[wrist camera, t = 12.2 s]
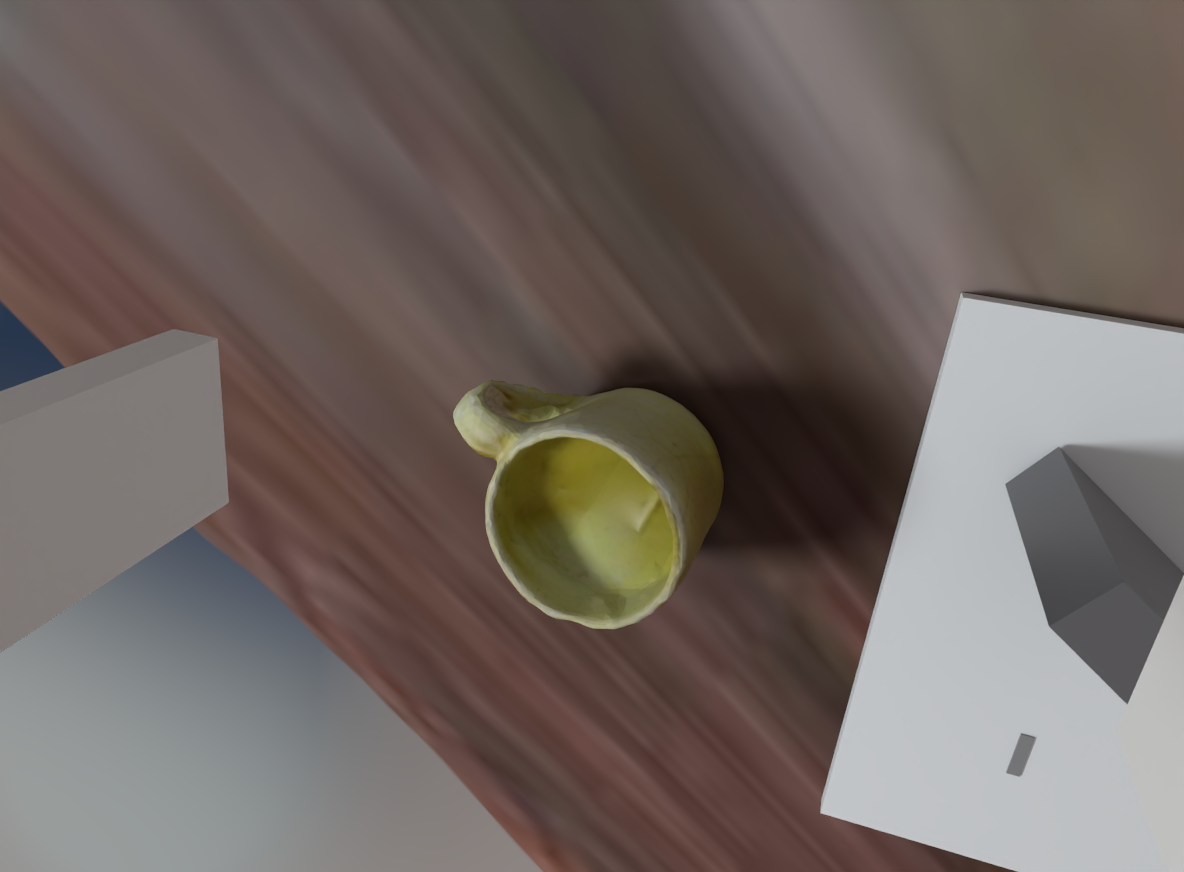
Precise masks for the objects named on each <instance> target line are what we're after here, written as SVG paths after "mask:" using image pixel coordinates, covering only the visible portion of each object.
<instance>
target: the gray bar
mask: <svg viewBox="0 0 1184 872" xmlns="http://www.w3.org/2000/svg"><path fill="white" fill-rule="evenodd" d="M1005 485H1006V489H1007V492H1008V495H1009V498H1010V502H1011V505H1012V508H1013V511H1014V515H1015V518H1016V521H1017V524H1018V528H1019V531H1020V534H1021V537H1022V541H1023V544H1024V547H1025V550H1026V554H1027V557H1028V560H1029V563H1030V567H1031V570H1032V573H1033V576H1034V579H1035V583H1036V586H1037V589H1038V592H1039V596H1040V599H1041V602H1042V605H1043V609H1044V612H1045V615H1046V618H1047V622H1048V625H1049V627H1050V628H1051V629H1052V630H1053V631H1054V632H1055V633H1056V634H1057V635H1058V636H1059V637H1060V638H1061V639H1062V640H1063V641H1064V642H1065V643H1066V644H1067V645H1068V646H1069V647H1070V648H1071V649H1072V650H1073V651H1074V652H1075V653H1076V654H1077V655H1078V656H1079V657H1080V658H1081V659H1082V660H1083V661H1084V662H1085V663H1086V664H1087V665H1088V666H1089V667H1090V668H1091V669H1092V670H1093V671H1094V672H1095V673H1096V674H1097V675H1098V676H1099V677H1100V678H1101V679H1102V680H1103V681H1104V682H1105V683H1106V684H1107V685H1108V686H1109V687H1110V688H1111V689H1112V690H1113V691H1114V692H1115V693H1116V694H1117V695H1118V696H1119V697H1120V698H1121V699H1122V700H1123V701H1124V702H1125V703H1126V704H1128V702H1129V700H1130V697H1131V695H1132V693H1133V691H1134V688H1135V686H1136V684H1137V681H1138V679H1139V677H1140V674H1141V672H1142V670H1143V668H1144V665H1145V663H1146V661H1147V658H1148V656H1149V654H1150V651H1151V649H1152V647H1153V645H1154V642H1155V640H1156V638H1157V635H1158V633H1159V631H1160V628H1161V626H1162V624H1163V622H1164V619H1165V617H1166V615H1167V612H1168V610H1169V608H1170V605H1171V603H1172V601H1173V598H1174V596H1175V594H1176V592H1177V589H1178V587H1179V585H1180V582H1181V580H1182V578H1183V575H1184V573H1183V572H1182V571H1181V570H1180V569H1179V568H1178V567H1177V566H1176V565H1175V564H1174V563H1173V562H1172V561H1171V560H1170V559H1169V558H1168V557H1167V556H1166V555H1165V554H1164V553H1163V552H1162V551H1161V550H1160V549H1159V548H1158V547H1157V546H1156V544H1155V543H1154V542H1153V541H1152V540H1151V539H1150V538H1149V537H1148V536H1147V535H1146V534H1145V533H1144V532H1143V531H1142V530H1141V529H1140V528H1139V527H1138V526H1137V525H1136V524H1135V523H1134V522H1133V521H1132V520H1131V519H1130V518H1129V517H1128V516H1127V515H1126V514H1125V513H1124V512H1123V511H1122V510H1121V509H1120V508H1119V507H1118V506H1117V505H1116V504H1115V503H1114V502H1113V501H1112V500H1111V499H1110V498H1109V497H1108V496H1107V495H1106V494H1105V493H1104V492H1103V491H1102V490H1101V489H1100V488H1099V487H1098V486H1097V485H1096V484H1095V483H1094V482H1093V481H1092V480H1091V478H1090V477H1089V476H1088V475H1087V474H1086V473H1085V472H1084V471H1083V470H1082V469H1081V468H1080V467H1079V466H1078V465H1077V464H1076V463H1075V462H1074V461H1073V460H1072V459H1071V458H1070V457H1069V456H1068V455H1067V454H1066V453H1065V452H1064V451H1063V450H1062V449H1061V448H1060V447H1057V448H1056V449H1054V450H1053V451H1052V452H1050V453H1049V454H1047V455H1046V456H1044V457H1043V458H1042V459H1040V460H1039V461H1037V462H1036V463H1034V464H1033V465H1032V466H1030V467H1029V468H1027V469H1026V470H1024V471H1023V472H1022V473H1020V474H1019V475H1017V476H1016V477H1014V478H1013V479H1012V480H1010V481H1009V482H1007V483H1006V484H1005Z"/></svg>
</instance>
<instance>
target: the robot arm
mask: <svg viewBox="0 0 1184 872" xmlns="http://www.w3.org/2000/svg"><path fill="white" fill-rule="evenodd" d="M227 503H229V498H228V484H227V469H226V454H225V440H224V425H223V411H222V396H221V382H220V367H219V352H218V338H213V337H209V336H204V335H199V334H194V333H190V332H185V331H180V330H176V329H172V330H170V331H167V332H164V333H161V334H159V335H156V336H153V337H150V338H148V339H145V340H142V341H139V342H136V343H134V344H131V345H128V346H125V347H123V348H120V349H117V350H114V351H111V352H109V353H106V354H103V355H100V356H98V357H95V358H92V359H89V360H86V361H84V362H81V363H78V364H75V365H73V366H70V367H67V368H64V369H62V370H59V371H56V372H53V373H51V374H48V375H45V376H42V377H39V378H37V379H34V380H31V381H28V382H25V383H23V384H20V385H18V386H15V387H12V388H9V389H6V390H3V391H0V653H1V652H2V651H4V650H5V649H7V648H8V647H10V646H11V645H12V644H14V643H16V642H17V641H19V640H20V639H22V638H23V637H25V636H26V635H28V634H29V633H31V632H32V631H34V630H36V629H37V628H39V627H40V626H41V625H43V624H45V623H46V622H48V621H49V620H51V619H52V618H54V617H55V616H57V615H58V614H60V613H61V612H63V611H64V610H66V609H67V608H69V607H70V606H72V605H73V604H75V603H77V602H78V601H80V600H81V599H83V598H84V597H86V596H87V595H89V594H90V593H92V592H93V591H95V590H96V589H98V588H99V587H101V586H102V585H104V584H105V583H107V582H109V581H110V580H112V579H113V578H115V577H116V576H118V575H119V574H121V573H122V572H123V571H125V570H127V569H128V568H130V567H131V566H133V565H134V564H136V563H137V562H139V561H140V560H142V559H144V558H145V557H147V556H148V555H150V554H151V553H153V552H154V551H156V550H157V549H159V548H160V547H162V546H163V545H165V544H166V543H168V542H169V541H171V540H172V539H174V538H175V537H177V536H178V535H180V534H181V533H183V532H184V531H186V530H188V529H189V528H191V527H192V526H194V525H195V524H197V523H198V522H200V521H201V520H203V519H204V518H206V517H207V516H209V515H210V514H212V513H213V512H215V511H217V510H218V509H220V508H221V507H223V506H224V505H226V504H227ZM1116 733H1117V736H1118V739H1119V741H1120V744H1121V747H1122V750H1123V753H1124V755H1125V758H1126V761H1127V764H1128V766H1129V769H1130V772H1131V775H1132V777H1133V780H1134V783H1135V786H1136V789H1137V791H1138V794H1139V797H1140V800H1141V802H1142V805H1143V808H1144V811H1145V814H1146V816H1147V819H1148V822H1149V825H1150V827H1151V830H1152V833H1153V836H1154V838H1155V841H1156V844H1157V847H1158V850H1159V852H1160V855H1161V858H1162V861H1163V863H1164V866H1165V869H1166V872H1184V575H1183V578H1182V580H1181V582H1180V585H1179V587H1178V589H1177V592H1176V594H1175V596H1174V598H1173V601H1172V603H1171V605H1170V608H1169V610H1168V612H1167V615H1166V617H1165V619H1164V622H1163V624H1162V626H1161V628H1160V631H1159V633H1158V635H1157V638H1156V640H1155V642H1154V645H1153V647H1152V649H1151V651H1150V654H1149V656H1148V658H1147V661H1146V663H1145V665H1144V668H1143V670H1142V672H1141V674H1140V677H1139V679H1138V681H1137V684H1136V686H1135V688H1134V691H1133V693H1132V695H1131V697H1130V700H1129V702H1128V704H1127V707H1126V709H1125V711H1124V714H1123V716H1122V718H1121V720H1120V723H1119V725H1118V727H1117V730H1116Z"/></svg>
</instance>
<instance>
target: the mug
mask: <svg viewBox="0 0 1184 872" xmlns="http://www.w3.org/2000/svg"><path fill="white" fill-rule="evenodd" d="M453 417H454V422H455V425H456V426H457V428H458V430H459V431H460V433H461V435H462V436H463V438H464V439H465V441H466V442H467V444H468V445H469V446H470V447H472V448H473V449H474V450H475V451H476V452H477V453H478V454H481V455H483V456H486V457H489V458H494V459H495V460H496V461H497V468H496V471H495V473H494V475H493V477H492V479H491V481H490V484H489V486H488V490H487V495H486V502H485V520H486V531H487V535H488V538H489V542H490V545H491V548H492V550H493V553H494V555H495V557H496V559H497V561H498V562H499V564H500V566H501V567H502V569H503V571H504V573H505V575H506V576H507V578H508V579H509V580H510V581H511V583H512V584H513V585H514V586H515V588H516V589H517V590H518V591H519V592H520V594H521V595H522V596H523V597H524V598H525V599H526V600H527V601H528V602H530V603H531V604H533V605H535V606H536V607H538V608H539V609H540V610H542V611H543V612H544V613H546V614H547V615H549V616H551V617H554V618H557V619H564V620H570V621H574V622H577V623H580V624H583V625H585V626H587V627H590V628H594V629H598V628H600V629H617V628H620V627H624V626H627V625H629V624H634V623H637V622H639V621H641V620H642V619H644V618H645V617H647V616H649V615H650V614H652V613H653V612H654V611H655V610H656V609H658V608H660V607H661V606H663V605H664V604H665V603H666V601H667V600H668V599H670V598H671V596H672V595H673V593H674V592H675V591H676V589H677V588H678V587H679V585H680V584H681V582H682V581H683V579H684V578H685V576H686V574H687V572H688V571H689V569H690V567H691V565H692V563H693V561H694V560H695V558H696V556H697V554H698V553H699V550H700V547H701V545H702V543H703V540H704V538H705V536H706V534H707V533H708V531H709V529H710V527H711V526H712V524H713V522H714V520H715V518H716V516H717V514H718V511H719V508H720V505H721V501H722V495H723V487H724V476H723V469H722V465H721V461H720V457H719V453H718V450H717V448H716V446H715V443H714V441H713V439H712V437H711V436H710V434H709V432H708V431H707V429H706V428H705V427H704V426H703V425H702V424H701V423H700V421H699V420H698V419H697V418H696V417H695V415H694V414H692V413H691V412H690V411H689V410H687V409H686V408H685V407H684V406H683V405H681V404H680V403H678V402H676V401H674V400H673V399H671V398H669V397H667V396H665V395H663V394H660V393H658V392H655V391H652V390H647V389H643V388H621V389H616V390H613V391H609V392H604V393H599V394H595V395H592V396H578V395H562V394H554V393H544V392H542V391H540V390H539V389H537V388H533V387H528V386H524V385H513V384H508V383H505V382H503V381H493V380H491V381H487V382H485V383H483V384H481V385H479V386H478V387H477V388H474V389H472V390H470V391H469V392H468V393H467V394H466V395H465V396H464V397H463V398H462V399H461V401H460V402H459V403H458V404H457V406H456V408H455V410H454V412H453Z"/></svg>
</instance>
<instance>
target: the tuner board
mask: <svg viewBox="0 0 1184 872" xmlns="http://www.w3.org/2000/svg"><path fill="white" fill-rule="evenodd" d="M1057 447H1060V448H1061V449H1062V450H1063V451H1064V452H1065V453H1066V454H1067V455H1068V456H1069V457H1070V458H1071V459H1072V460H1073V461H1074V462H1075V463H1076V464H1077V465H1078V466H1079V467H1080V468H1081V469H1082V470H1083V471H1084V472H1085V473H1086V474H1087V475H1088V476H1089V477H1090V478H1091V480H1092V481H1093V482H1094V483H1095V484H1096V485H1097V486H1098V487H1099V488H1100V489H1101V490H1102V491H1103V492H1104V493H1105V494H1106V495H1107V496H1108V497H1109V498H1110V499H1111V500H1112V501H1113V502H1114V503H1115V504H1116V505H1117V506H1118V507H1119V508H1120V509H1121V510H1122V511H1123V512H1124V513H1125V514H1126V515H1127V516H1128V517H1129V518H1130V519H1131V520H1132V521H1133V522H1134V523H1135V524H1136V525H1137V526H1138V527H1139V528H1140V529H1141V530H1142V531H1143V532H1144V533H1145V534H1146V535H1147V536H1148V537H1149V538H1150V539H1151V540H1152V541H1153V542H1154V543H1155V544H1156V546H1157V547H1158V548H1159V549H1160V550H1161V551H1162V552H1163V553H1164V554H1165V555H1166V556H1167V557H1168V558H1169V559H1170V560H1171V561H1172V562H1173V563H1174V564H1175V565H1176V566H1177V567H1178V568H1179V569H1180V570H1181V571H1182V572H1183V573H1184V328H1179V327H1172V326H1166V325H1160V324H1154V323H1148V322H1142V321H1135V320H1129V319H1123V318H1117V317H1111V316H1105V315H1099V314H1092V313H1086V312H1080V311H1074V310H1068V309H1062V308H1056V307H1049V306H1043V305H1037V304H1031V303H1025V302H1019V301H1012V300H1006V299H1000V298H994V297H988V296H982V295H976V294H969V293H963V292H961V295H960V299H959V302H958V306H957V310H956V313H955V317H954V320H953V324H952V328H951V331H950V335H949V339H948V342H947V346H946V349H945V353H944V357H943V360H942V364H941V368H940V371H939V375H938V379H937V382H936V386H935V389H934V393H933V397H932V400H931V404H930V408H929V411H928V415H927V418H926V422H925V426H924V429H923V433H922V437H921V440H920V444H919V447H918V451H917V455H916V458H915V462H914V466H913V469H912V473H911V477H910V480H909V484H908V487H907V491H906V495H905V498H904V502H903V506H902V509H901V513H900V516H899V520H898V524H897V527H896V531H895V535H894V538H893V542H892V545H891V549H890V553H889V556H888V560H887V564H886V567H885V571H884V574H883V578H882V582H881V585H880V589H879V593H878V596H877V600H876V604H875V607H874V611H873V614H872V618H871V622H870V625H869V629H868V633H867V636H866V640H865V643H864V647H863V651H862V654H861V658H860V662H859V665H858V669H857V672H856V676H855V680H854V683H853V687H852V691H851V694H850V698H849V702H848V705H847V709H846V712H845V716H844V720H843V723H842V727H841V731H840V734H839V738H838V741H837V745H836V749H835V752H834V756H833V760H832V763H831V767H830V770H829V774H828V778H827V781H826V785H825V789H824V792H823V796H822V800H821V813H822V814H826V815H829V816H832V817H836V818H839V819H843V820H846V821H849V822H853V823H856V824H859V825H863V826H866V827H869V828H873V829H876V830H880V831H883V832H886V833H890V834H893V835H896V836H900V837H903V838H906V839H910V840H913V841H917V842H920V843H923V844H927V845H930V846H933V847H937V848H940V849H944V850H947V851H950V852H954V853H957V854H960V855H964V856H967V857H970V858H974V859H977V860H981V861H984V862H987V863H991V864H994V865H997V866H1001V867H1004V868H1007V869H1011V870H1014V871H1018V872H1166V869H1165V866H1164V863H1163V861H1162V858H1161V855H1160V852H1159V850H1158V847H1157V844H1156V841H1155V838H1154V836H1153V833H1152V830H1151V827H1150V825H1149V822H1148V819H1147V816H1146V814H1145V811H1144V808H1143V805H1142V802H1141V800H1140V797H1139V794H1138V791H1137V789H1136V786H1135V783H1134V780H1133V777H1132V775H1131V772H1130V769H1129V766H1128V764H1127V761H1126V758H1125V755H1124V753H1123V750H1122V747H1121V744H1120V741H1119V739H1118V736H1117V733H1116V730H1117V727H1118V725H1119V723H1120V720H1121V718H1122V716H1123V714H1124V711H1125V709H1126V707H1127V704H1126V703H1125V702H1124V701H1123V700H1122V699H1121V698H1120V697H1119V696H1118V695H1117V694H1116V693H1115V692H1114V691H1113V690H1112V689H1111V688H1110V687H1109V686H1108V685H1107V684H1106V683H1105V682H1104V681H1103V680H1102V679H1101V678H1100V677H1099V676H1098V675H1097V674H1096V673H1095V672H1094V671H1093V670H1092V669H1091V668H1090V667H1089V666H1088V665H1087V664H1086V663H1085V662H1084V661H1083V660H1082V659H1081V658H1080V657H1079V656H1078V655H1077V654H1076V653H1075V652H1074V651H1073V650H1072V649H1071V648H1070V647H1069V646H1068V645H1067V644H1066V643H1065V642H1064V641H1063V640H1062V639H1061V638H1060V637H1059V636H1058V635H1057V634H1056V633H1055V632H1054V631H1053V630H1052V629H1051V628H1050V627H1049V625H1048V622H1047V618H1046V615H1045V612H1044V609H1043V605H1042V602H1041V599H1040V596H1039V592H1038V589H1037V586H1036V583H1035V579H1034V576H1033V573H1032V570H1031V567H1030V563H1029V560H1028V557H1027V554H1026V550H1025V547H1024V544H1023V541H1022V537H1021V534H1020V531H1019V528H1018V524H1017V521H1016V518H1015V515H1014V511H1013V508H1012V505H1011V502H1010V498H1009V495H1008V492H1007V489H1006V485H1005V484H1006V483H1007V482H1009V481H1010V480H1012V479H1013V478H1014V477H1016V476H1017V475H1019V474H1020V473H1022V472H1023V471H1024V470H1026V469H1027V468H1029V467H1030V466H1032V465H1033V464H1034V463H1036V462H1037V461H1039V460H1040V459H1042V458H1043V457H1044V456H1046V455H1047V454H1049V453H1050V452H1052V451H1053V450H1054V449H1056V448H1057Z"/></svg>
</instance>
